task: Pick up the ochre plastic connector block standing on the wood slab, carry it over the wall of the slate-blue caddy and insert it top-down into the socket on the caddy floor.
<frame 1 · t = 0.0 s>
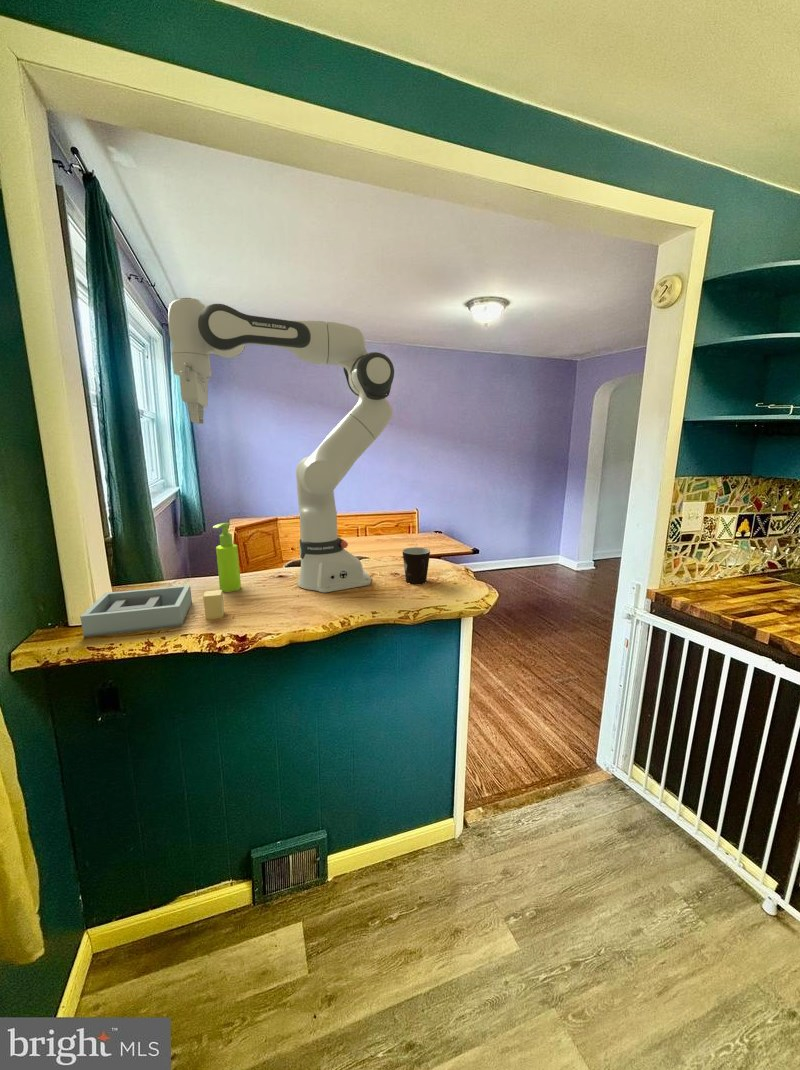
hand: (197, 423, 113), 48 cm above the table, fingers open, 8 cm apart
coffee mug: (415, 583, 132), on the table
connector: (215, 615, 108), on the table
caddy: (143, 618, 106), on the table
soap dispenser: (229, 589, 127), on the table
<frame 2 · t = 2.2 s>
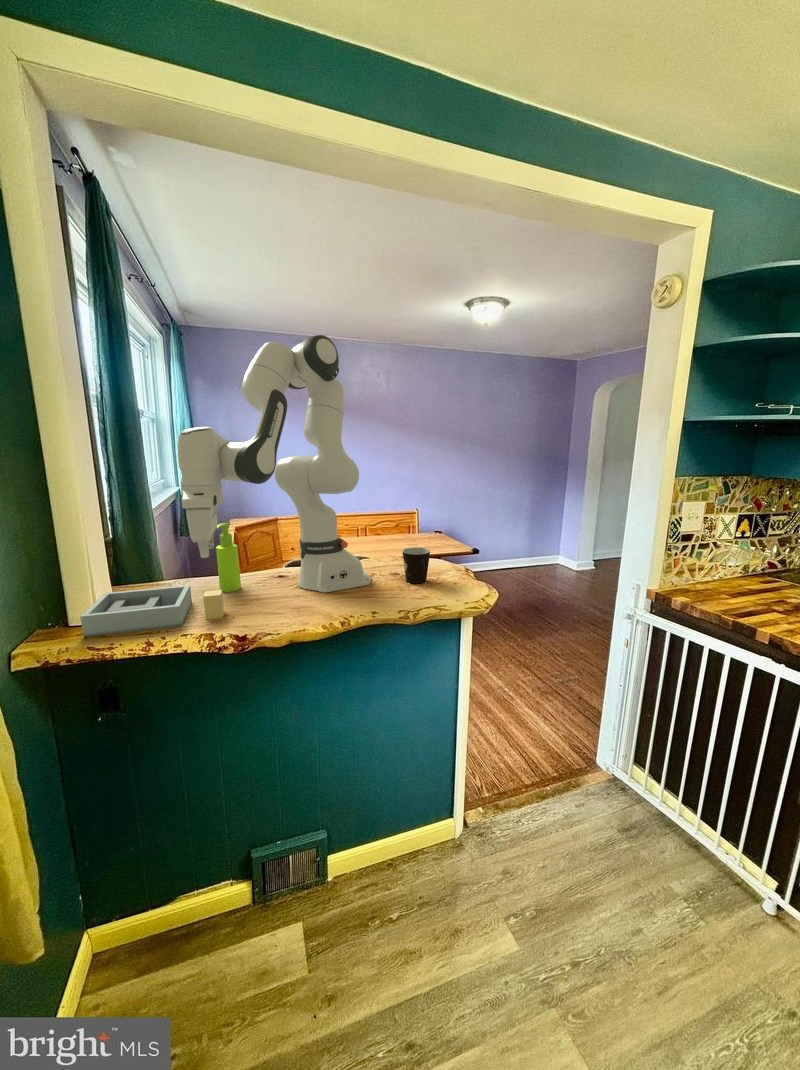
hand: (207, 552, 104), 16 cm above the table, fingers open, 8 cm apart
nothing on the table moved.
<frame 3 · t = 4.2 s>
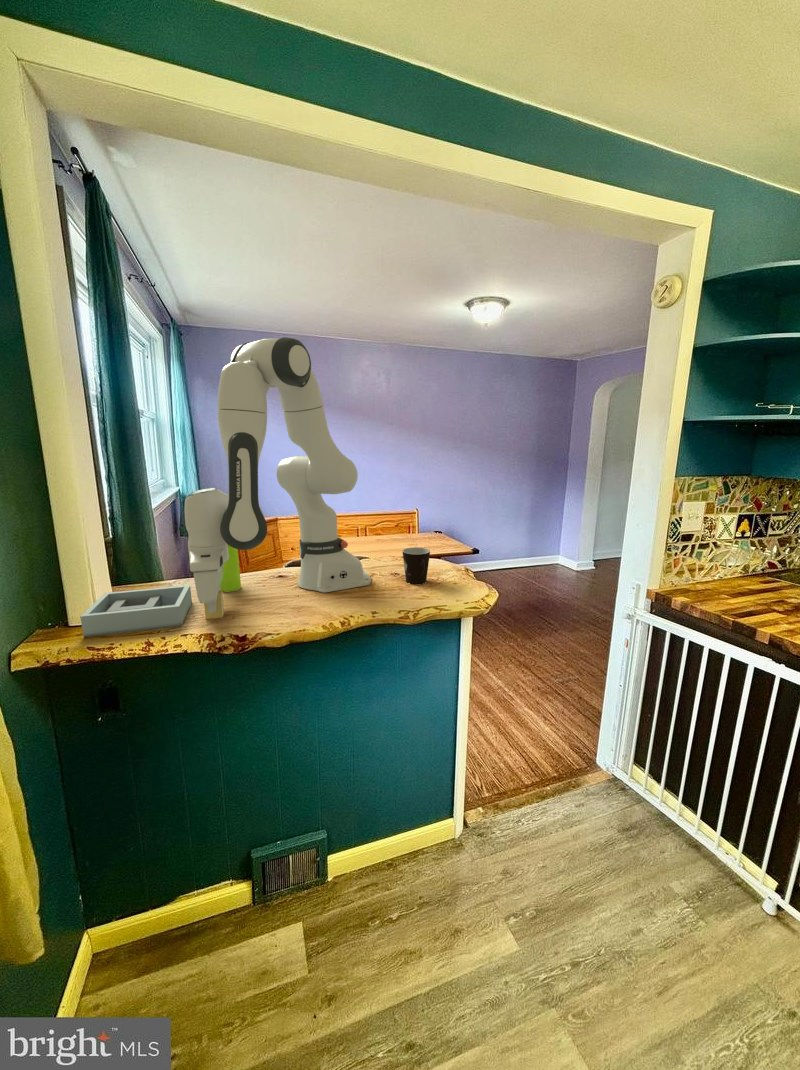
hand: (214, 607, 107), 2 cm above the table, fingers closed on connector, 4 cm apart
connector: (215, 615, 108), on the table, touching gripper
everything else where it was.
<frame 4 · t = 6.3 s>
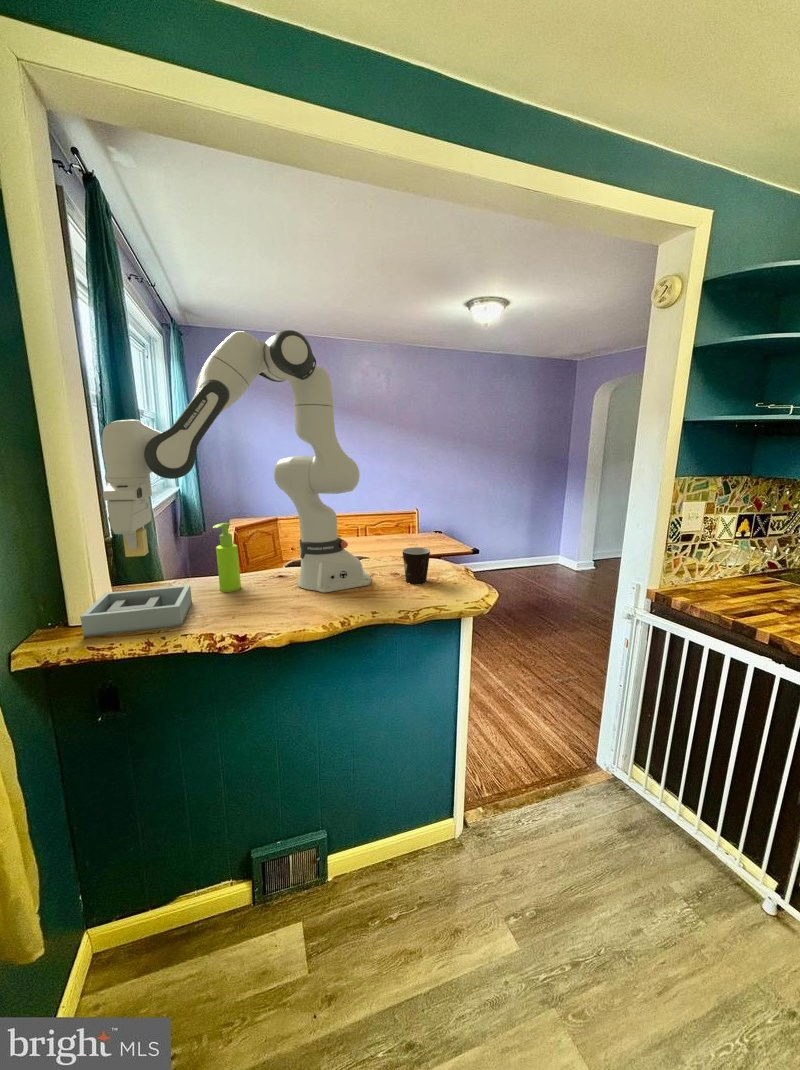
hand: (136, 546, 104), 18 cm above the table, fingers closed on connector, 4 cm apart
connector: (137, 554, 104), point 16 cm above the table, touching gripper
everything else where it was.
when the fingers open (4 cm above the table, at t = 8.7 s): connector drops 1 cm, resting on caddy.
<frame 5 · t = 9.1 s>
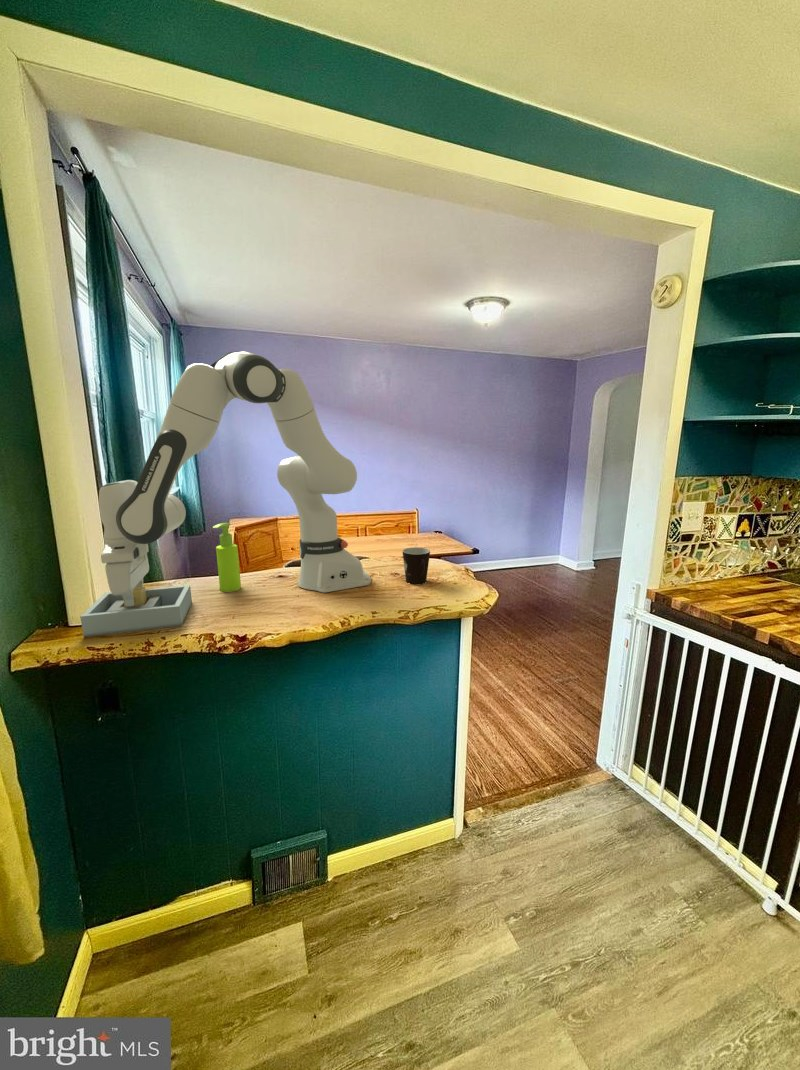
hand: (135, 600, 107), 4 cm above the table, fingers open, 6 cm apart
connector: (137, 612, 108), point 1 cm above the table, touching caddy
everything else where it was.
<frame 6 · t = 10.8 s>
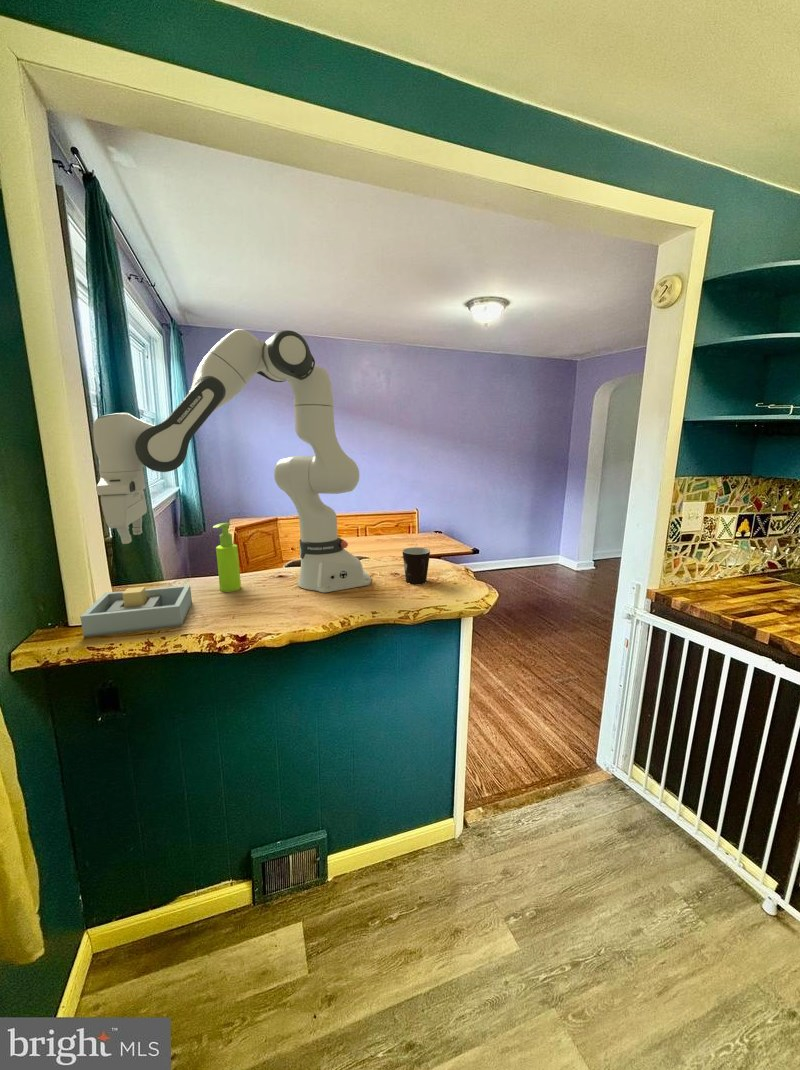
hand: (132, 538, 105), 20 cm above the table, fingers open, 8 cm apart
nothing on the table moved.
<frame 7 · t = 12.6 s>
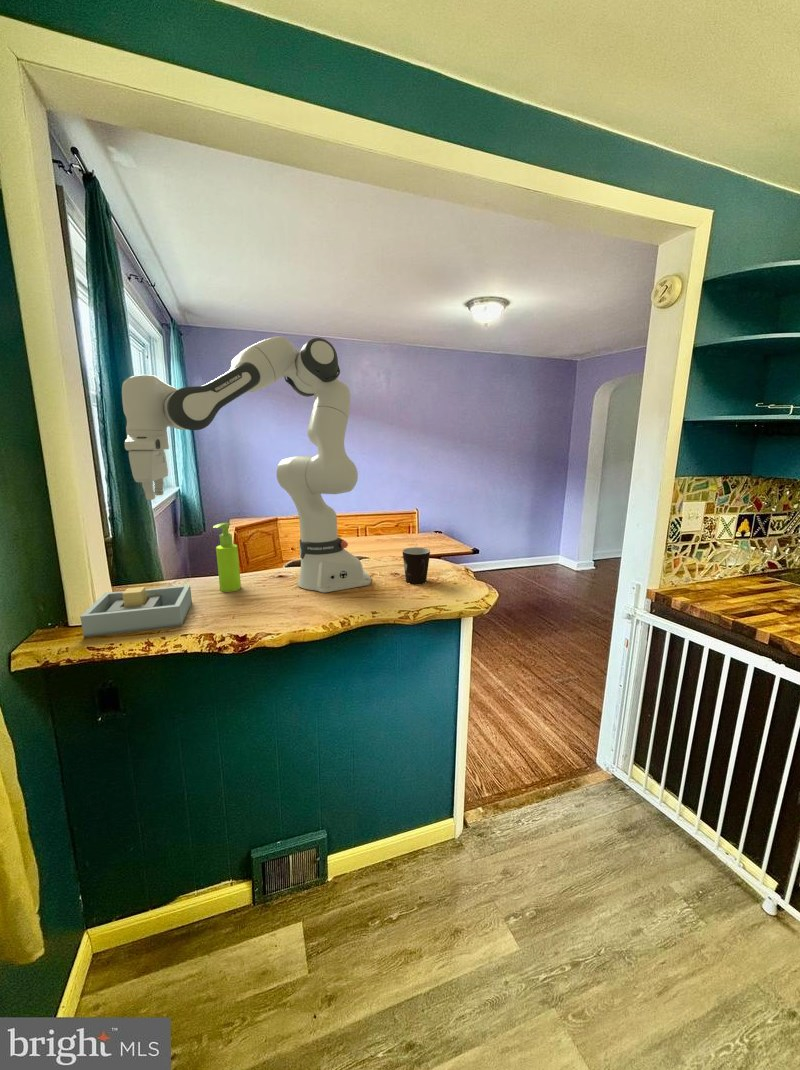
hand: (155, 497, 110), 29 cm above the table, fingers open, 8 cm apart
nothing on the table moved.
at the end: connector 0.0 cm from the target spot on the caddy, point 0.6 cm above the caddy's base; connector tilted 0°; the gripper is holding nothing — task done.
